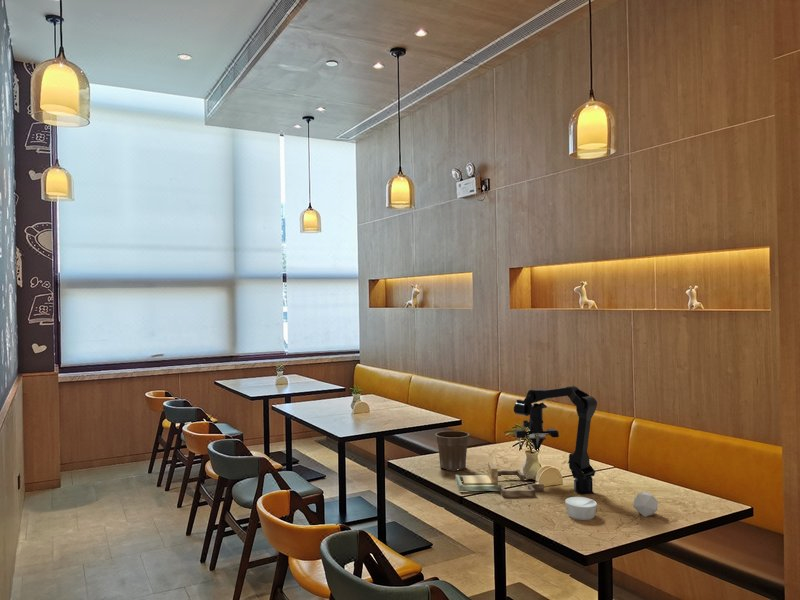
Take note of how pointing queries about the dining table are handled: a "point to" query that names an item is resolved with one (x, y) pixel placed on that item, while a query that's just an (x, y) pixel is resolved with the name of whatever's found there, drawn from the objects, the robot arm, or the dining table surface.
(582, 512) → the ramekin
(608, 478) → the dining table surface
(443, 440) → the plant pot
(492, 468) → the beige l-shaped bracket
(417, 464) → the dining table surface
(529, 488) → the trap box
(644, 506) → the die
